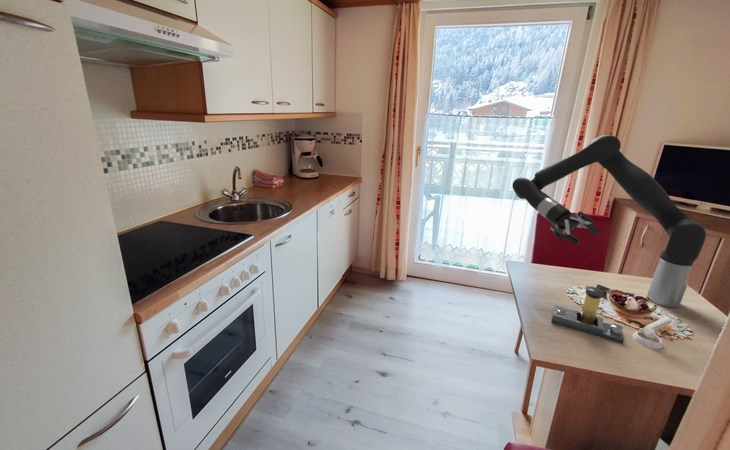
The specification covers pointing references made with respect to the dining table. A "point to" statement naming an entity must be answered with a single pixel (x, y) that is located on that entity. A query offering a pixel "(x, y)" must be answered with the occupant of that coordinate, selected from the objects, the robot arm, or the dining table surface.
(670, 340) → the dining table surface
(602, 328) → the grey plate with studs
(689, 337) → the dining table surface
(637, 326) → the dining table surface
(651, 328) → the white vr controller
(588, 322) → the pin
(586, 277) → the dining table surface
